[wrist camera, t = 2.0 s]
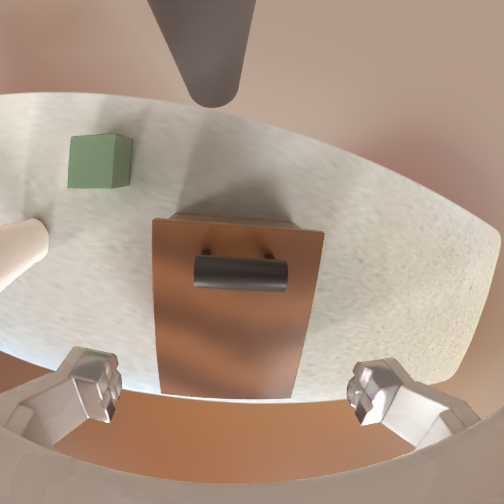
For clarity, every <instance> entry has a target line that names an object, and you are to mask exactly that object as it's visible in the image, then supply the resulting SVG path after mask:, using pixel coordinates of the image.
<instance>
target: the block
mask: <svg viewBox="0 0 504 504" xmlns="http://www.w3.org/2000/svg"><path fill="white" fill-rule="evenodd" d="M132 142H133V139H130V138H127V137H124V136H121V135H118V134H101V135H86V136H74V137H71V143H70V154H69V168H68V189H77V188H101V189H112V188H118V187H124V186H129V179H130V164H131V152H132Z"/></svg>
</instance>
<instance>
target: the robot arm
mask: <svg viewBox="0 0 504 504" xmlns="http://www.w3.org/2000/svg"><path fill="white" fill-rule="evenodd" d="M117 366H118V360H117V356H116V355H115V354H113V353H107V352H103V351H98V350H93V349H87V348H83V347H79V346H75V347H73V348H72V350H71V351H70V352H69V354H68V355H67V357H66V358H65V359H64V361H63V362H62V364H61V365H60V366H59V368H58V369H57V371H56V372H55V373H54V372H50V373H48V374H45V375H43V376H41V377H38V378H36V379H34V380H32V381H29V382H27V383H25V384H22V385H20V386H17V387H15V388H13V389H10V390H8V391H6V392H3V393H1V394H0V504H504V407H502V408H500V409H499V410H497V411H496V412H494V413H492V414H491V415H489V416H487V417H486V418H484V419H482V420H481V419H480V418H479V417H478V415H477V414H476V413H475V412H474V411H473V410H472V409H471V407H470V406H469V405H468V404H467V403H466V402H464V401H462V400H460V399H458V398H455V397H453V396H451V395H448V394H446V393H444V392H441V391H439V390H437V389H434V388H432V387H430V386H427V385H425V384H423V383H421V382H418V381H417V382H415V381H414V380H413V379H412V378H411V377H410V375H409V374H408V373H407V372H406V371H405V369H404V368H403V367H402V366H401V365H400V364H399V362H398V361H397V360H396V359H394V358H386V359H381V360H374V361H365V362H357V364H356V365H355V367H354V369H353V373H354V375H355V376H354V377H353V378H352V379H351V380H349V383H348V386H347V398H348V401H349V403H350V404H351V405H352V406H354V407H355V408H356V410H355V414H356V416H357V418H358V420H359V422H360V424H361V425H366V424H371V423H377V422H381V423H382V424H384V425H385V426H387V427H388V428H389V429H391V430H392V431H394V432H395V433H397V434H398V435H399V436H401V437H402V438H404V439H405V440H407V441H408V442H409V443H411V444H412V445H414V446H415V447H416V448H415V449H414V451H413V452H411V453H408V454H405V455H402V456H399V457H396V458H393V459H390V460H387V461H384V462H380V463H377V464H373V465H370V466H366V467H362V468H358V469H354V470H350V471H345V472H341V473H336V474H330V475H325V476H320V477H313V478H306V479H300V480H291V481H281V482H267V483H247V484H245V483H243V484H227V483H201V482H188V481H178V480H169V479H162V478H155V477H148V476H143V475H138V474H132V473H127V472H123V471H119V470H114V469H110V468H106V467H103V466H99V465H95V464H92V463H88V462H85V461H82V460H79V459H76V458H73V457H70V456H67V455H64V454H62V453H59V452H57V450H56V448H55V447H54V445H53V444H55V443H56V442H57V441H59V440H60V439H61V438H63V437H64V436H65V435H67V434H68V433H69V432H71V431H72V430H73V429H75V428H76V427H77V426H79V425H80V424H81V423H83V422H84V421H85V420H87V418H91V419H96V420H100V421H105V422H111V419H112V417H113V414H114V411H115V406H114V402H116V401H117V400H119V398H120V395H121V389H122V379H121V374H120V373H119V372H118V371H117V370H116V368H117Z"/></svg>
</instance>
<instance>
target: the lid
mask: <svg viewBox="0 0 504 504" xmlns="http://www.w3.org/2000/svg"><path fill="white" fill-rule="evenodd" d="M323 240H324V233H323V232H322V231H317V230H306V229H296V228H285V227H273V226H261V225H249V224H236V223H223V222H209V221H194V220H178V219H161V218H155V219H153V220H152V287H153V311H154V327H155V341H156V352H157V362H158V372H159V380H160V388H161V394H169V395H179V396H190V397H203V398H223V399H283V398H291V394H292V390H293V386H294V382H295V378H296V374H297V370H298V366H299V362H300V358H301V354H302V349H303V345H304V340H305V336H306V331H307V327H308V322H309V317H310V312H311V307H312V302H313V297H314V292H315V287H316V281H317V276H318V270H319V265H320V259H321V253H322V246H323Z"/></svg>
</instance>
